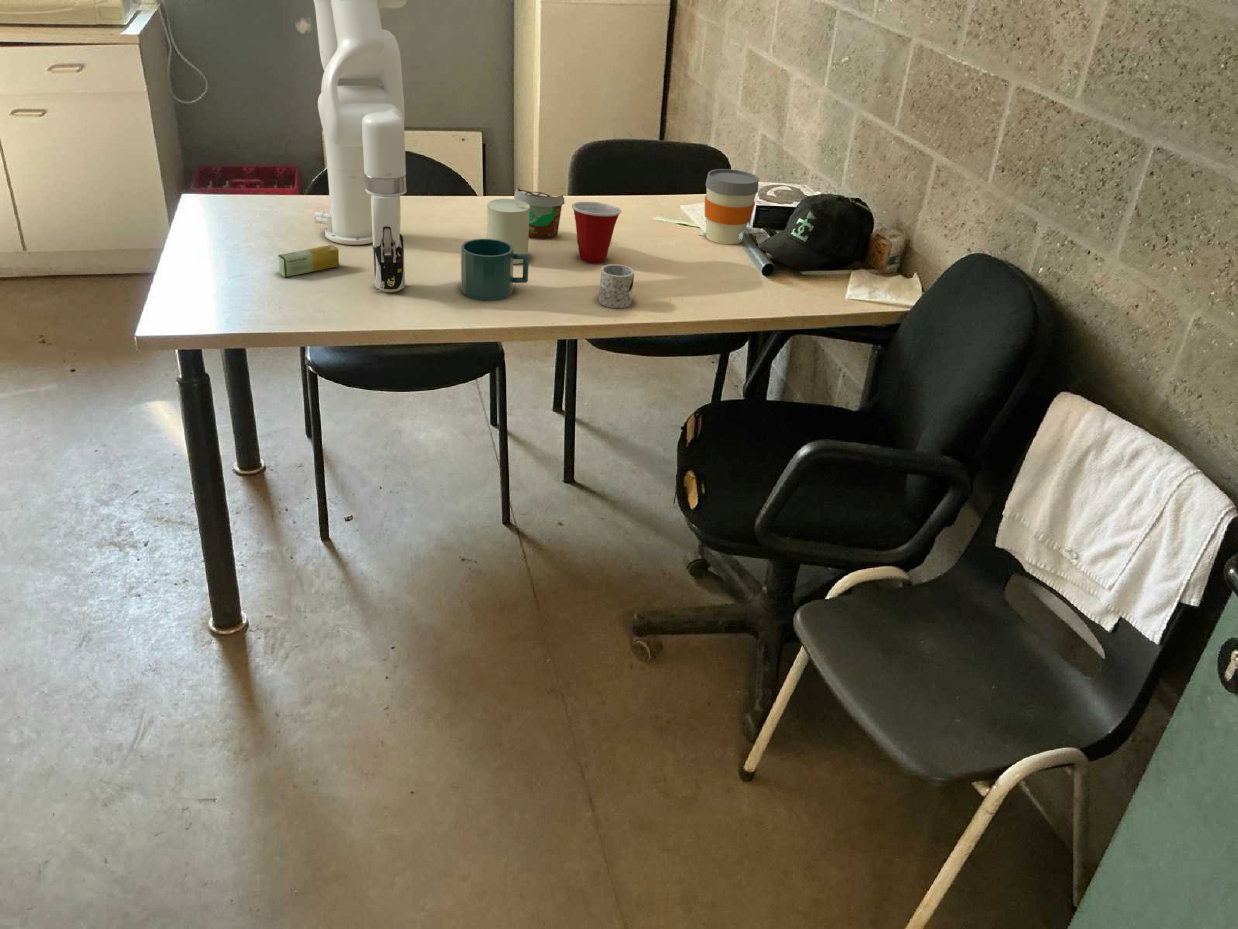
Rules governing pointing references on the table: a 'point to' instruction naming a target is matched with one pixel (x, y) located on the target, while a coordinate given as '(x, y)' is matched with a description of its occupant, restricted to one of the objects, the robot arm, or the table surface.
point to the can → (509, 224)
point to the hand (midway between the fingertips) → (389, 275)
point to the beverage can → (391, 284)
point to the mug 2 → (616, 286)
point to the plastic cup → (594, 229)
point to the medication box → (308, 260)
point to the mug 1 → (489, 269)
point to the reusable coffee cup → (729, 204)
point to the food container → (542, 213)
